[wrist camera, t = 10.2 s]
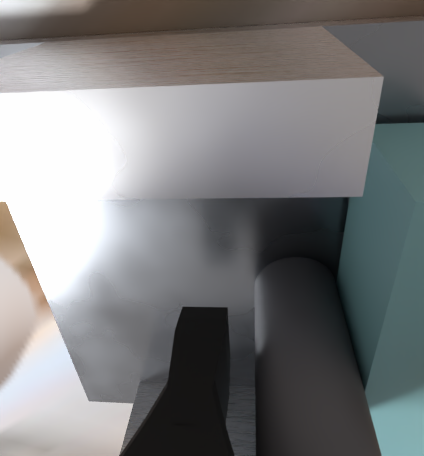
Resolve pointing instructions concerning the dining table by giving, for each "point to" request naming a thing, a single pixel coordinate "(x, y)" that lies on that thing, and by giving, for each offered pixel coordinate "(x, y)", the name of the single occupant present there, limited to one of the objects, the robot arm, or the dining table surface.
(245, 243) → the press
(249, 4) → the dining table surface
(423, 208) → the ram
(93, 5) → the dining table surface
